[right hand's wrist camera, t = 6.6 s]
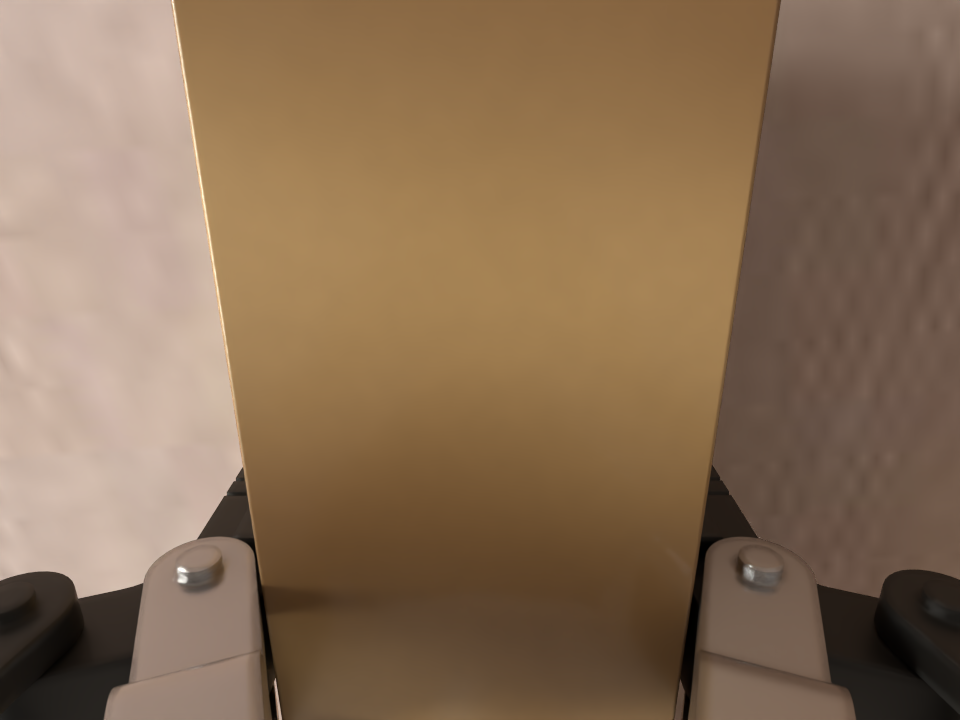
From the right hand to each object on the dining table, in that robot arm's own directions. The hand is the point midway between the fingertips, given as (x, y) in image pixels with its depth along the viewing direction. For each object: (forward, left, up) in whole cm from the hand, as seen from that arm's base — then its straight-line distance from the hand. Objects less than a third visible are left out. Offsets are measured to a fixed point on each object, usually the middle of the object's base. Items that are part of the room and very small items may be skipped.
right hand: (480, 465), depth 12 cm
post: (+19, -9, -4) cm, 21 cm away
